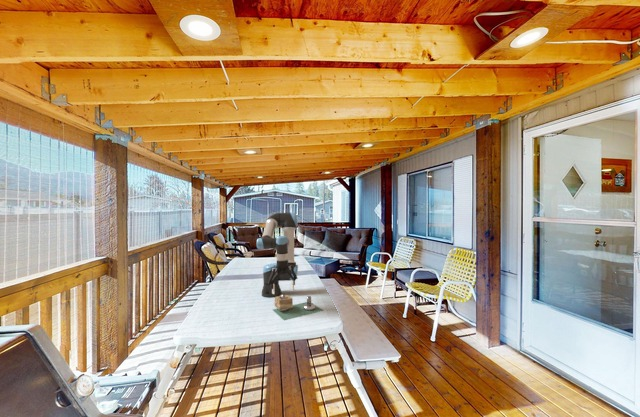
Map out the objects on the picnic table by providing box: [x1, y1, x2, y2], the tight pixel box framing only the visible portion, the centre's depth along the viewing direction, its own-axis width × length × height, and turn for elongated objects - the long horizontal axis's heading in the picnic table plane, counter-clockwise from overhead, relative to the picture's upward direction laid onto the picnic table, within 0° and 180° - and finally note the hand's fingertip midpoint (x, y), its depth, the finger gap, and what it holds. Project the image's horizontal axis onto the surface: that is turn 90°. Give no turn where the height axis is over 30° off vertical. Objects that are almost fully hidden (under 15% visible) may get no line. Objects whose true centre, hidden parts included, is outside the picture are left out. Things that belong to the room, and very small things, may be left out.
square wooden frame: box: [274, 294, 294, 310], centre depth 191 cm, size 9×9×6 cm
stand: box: [277, 293, 289, 312], centre depth 191 cm, size 7×7×10 cm
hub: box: [303, 295, 316, 311], centre depth 191 cm, size 8×8×8 cm
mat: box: [272, 301, 324, 321], centre depth 190 cm, size 20×28×1 cm
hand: (283, 291), depth 190 cm, fingers open, 13 cm apart
